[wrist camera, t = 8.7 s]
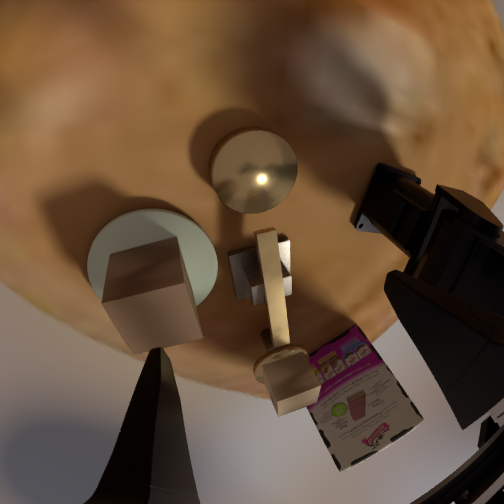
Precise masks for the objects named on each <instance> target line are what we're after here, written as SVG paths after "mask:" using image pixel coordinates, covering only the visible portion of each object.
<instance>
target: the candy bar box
mask: <svg viewBox="0 0 504 504" xmlns="http://www.w3.org/2000/svg"><path fill="white" fill-rule="evenodd" d="M309 357H310V359H309V363H310V365H311V367H312V369H313V371H314V373H315V375H316V376H317V378H318V380H319V382H320V384H321V388H320V392H319V396H318V400H317V402H316V403H314V404H311V405H309V406H306V407H307V409H308V411H309V413H310V415H311V417H312V419H313V421H314V423H315V425H316V427H317V429H318V431H319V433H320V435H321V437H322V439H323V441H324V443H325V445H326V446H327V449H328V450H329V452H330V454H331V456H332V458H333V460H334V462H335V464H336V466H337V468H338V470H339V471H340V472H342V471H346V470H348V469H350V468H352V467H354V466H356V465H358V464H360V463H362V462H364V461H366V460H367V459H369V458H371V457H373V456H374V455H376V454H378V453H379V452H381V451H383V450H384V449H386V448H388V447H389V446H390V445H392V444H394V443H395V442H397V441H398V440H400V439H401V438H403V437H404V436H405V435H407V434H408V433H409V432H411V431H412V430H414V429H415V428H416V427H418V426H419V425H420V424H421V423H422V422H423V421H424V420H423V417H422V415H421V414H420V413H419V411H418V409H417V408H416V406H415V405H414V403H413V402H412V401H411V400H410V398H409V396H408V395H407V393H406V392H405V391H404V389H403V388H402V386H401V385H400V383H399V382H398V381H397V379H396V378H395V376H394V375H393V373H392V372H391V370H390V369H389V368H388V367H387V365H386V363H385V362H384V361H383V359H382V358H381V356H380V355H379V354H378V352H377V351H376V349H375V348H374V347H373V345H372V344H371V343H370V341H369V340H368V338H367V337H366V335H365V334H364V333H363V331H362V330H361V329H360V327H359V326H358V325H356V326H354V327H352V328H351V329H349V330H348V331H346V332H345V333H343V334H342V335H340V336H339V337H337V338H336V339H334V340H333V341H331V342H330V343H328V344H326V345H325V346H323V347H322V348H320V349H318V350H317V351H315V352H314V353H312V354H310V355H309Z"/></svg>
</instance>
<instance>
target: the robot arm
mask: <svg viewBox="0 0 504 504" xmlns="http://www.w3.org/2000/svg"><path fill="white" fill-rule="evenodd" d="M381 168H382V170H381ZM420 184H421V179H420V178H418V177H416V176H414V175H411V174H409V173H406V172H404V171H401V170H399V169H396V168H394V167H391V166H388V165H386V164H383V163H379V164H378V165H377V166H376V169H375V172H374V174H373V177H372V180H371V183H370V185H369V188H368V191H367V193H366V196H365V198H364V201H363V204H362V206H361V209H360V211H359V214H358V216H357V219H356V221H355V224H354V227H355V228H356V229H357V230H358V231H365V232H373V233H381V234H383V235H384V236H385V237H387V238H388V239H389V240H390V241H391V242H392V243H393V244H395V245H396V246H397V247H398V248H399V249H400V250H401V251H403V252H404V253H405V254H406V255H407V256H408V257H409V260H408V263H407V265H406V267H405V269H404V271H403V272H401V271H398V270H393V271H391V272H389V273H388V274H387V276H386V280H385V284H384V291H385V294H386V296H387V297H388V299H389V301H390V303H391V305H392V307H393V309H394V311H395V313H396V315H397V316H398V318H399V320H400V322H401V323H402V325H403V327H404V328H405V330H406V331H407V333H408V334H409V336H410V338H411V339H412V341H413V342H414V344H415V346H416V347H417V349H418V351H419V352H420V354H421V355H422V357H423V359H424V360H425V362H426V364H427V366H428V367H429V369H430V371H431V372H432V374H433V376H434V378H435V379H436V381H437V383H438V384H439V387H440V388H441V390H442V392H443V394H444V396H445V397H446V400H447V401H448V403H449V405H450V407H451V409H452V411H453V413H454V415H455V417H456V418H457V421H458V423H459V424H460V426H461V428H462V430H464V429H465V428H467V427H468V426H469V425H471V424H472V423H473V422H475V421H476V420H478V419H479V418H480V417H481V416H483V415H484V414H485V413H486V412H489V414H490V415H489V416H488V417H487V418H486V419H485V420H484V421H483V422H482V423H481V428H480V435H479V441H478V447H479V450H478V451H477V452H476V453H475V454H474V455H473V456H472V457H471V458H470V459H468V460H467V461H466V462H465V463H464V464H463V465H461V466H460V467H459V468H458V469H457V470H456V471H454V472H453V473H452V474H451V475H449V476H448V477H447V478H446V479H444V480H443V481H442V482H440V483H439V484H438V485H436V486H435V487H434V488H432V489H431V490H430V491H428V492H427V493H425V494H424V495H422V496H421V497H419V498H418V499H416V500H415V501H414V502H412V503H410V504H451V503H452V502H453V501H454V502H455V504H504V491H503V490H504V232H503V231H502V229H503V224H502V223H501V222H500V221H499V220H498V219H497V217H496V216H495V215H494V214H493V213H492V212H491V211H490V209H489V208H488V207H487V206H486V205H485V204H484V203H483V202H481V201H480V200H478V199H476V198H475V197H473V196H471V195H470V194H468V193H466V192H464V191H462V190H458V189H454V188H450V187H446V186H442V185H438V184H437V186H436V189H435V191H436V193H435V195H434V194H433V193H431V192H429V191H428V190H426V189H424V188H423V187H421V186H420ZM120 431H121V432H119V435H118V438H117V441H116V444H115V447H114V449H113V452H112V455H111V457H110V459H109V461H108V464H107V466H106V468H105V470H104V473H103V475H102V477H101V480H100V482H99V484H98V486H97V488H96V490H95V492H94V494H93V495H92V496H91V497H90V498H89V499H88V500H87V501H86V502H85V503H84V504H200V501H199V498H198V493H197V489H196V484H195V480H194V475H193V470H192V466H191V461H190V455H189V450H188V444H187V439H186V433H185V427H184V421H183V414H182V407H181V401H180V397H179V393H178V389H177V385H176V381H175V377H174V373H173V368H172V364H171V361H170V359H169V357H168V356H167V354H166V353H165V351H164V350H163V348H162V347H157V348H152V349H151V350H150V351H149V354H148V356H147V359H146V361H145V364H144V367H143V369H142V372H141V374H140V377H139V379H138V382H137V385H136V387H135V390H134V393H133V395H132V398H131V401H130V404H129V407H128V409H127V412H126V415H125V418H124V421H123V424H122V427H121V429H120Z"/></svg>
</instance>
